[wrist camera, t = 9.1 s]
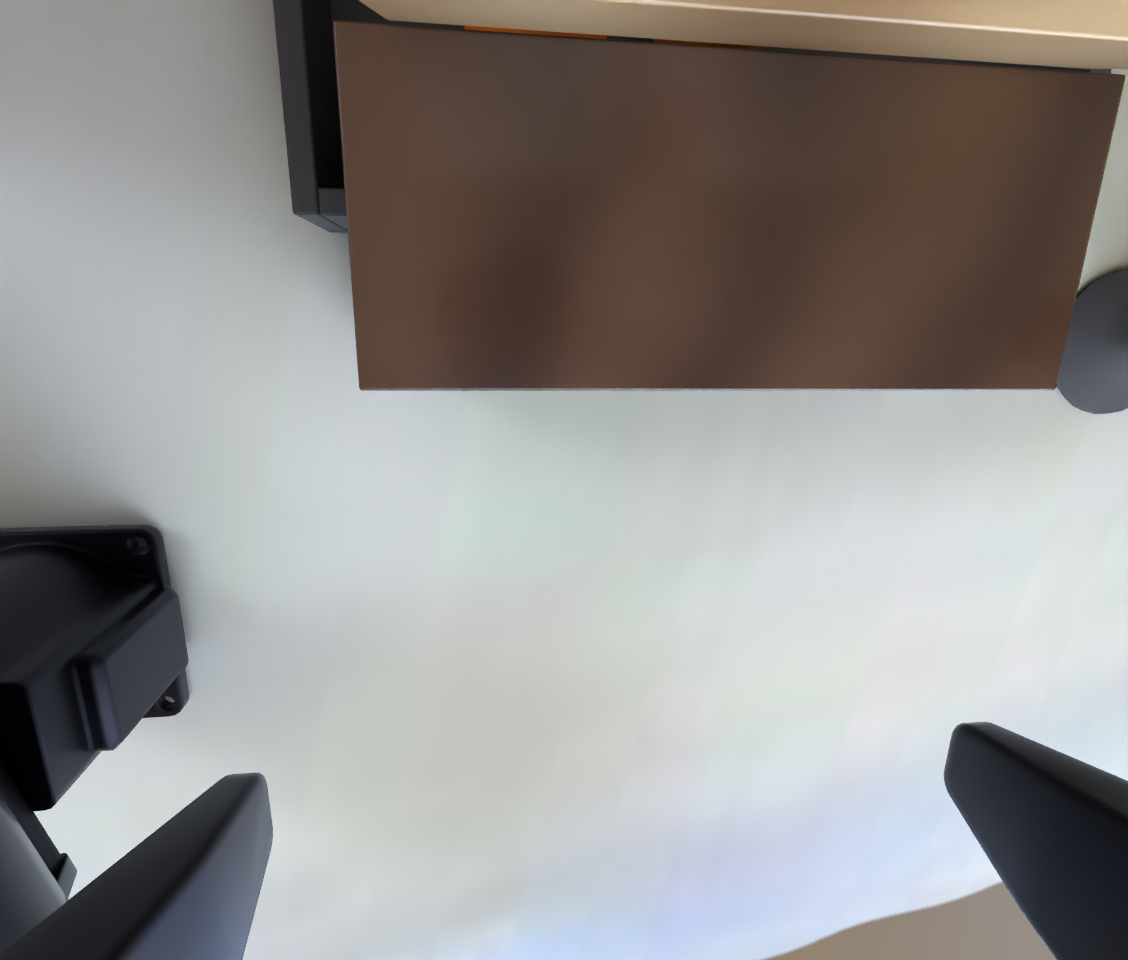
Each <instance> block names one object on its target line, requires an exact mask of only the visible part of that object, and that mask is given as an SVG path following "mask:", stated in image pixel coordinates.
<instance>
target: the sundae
mask: <svg viewBox="0 0 1128 960" xmlns="http://www.w3.org/2000/svg"><path fill="white" fill-rule="evenodd" d="M1057 386H1058V389H1059V390H1060V391H1061V393H1062V394H1063V395H1064V397H1065V398H1066V399H1067V400H1068V401H1069V402H1070V403H1071V404H1072V405H1073V406H1075V407H1077V408H1079V409H1081V410H1083V411H1086V412H1090V413H1094V414H1103V413H1112V412H1118V411H1122V410H1124V409H1126V408H1128V268H1126V269H1120V270H1116V271H1114V272H1112V273H1109V274H1107V275H1105V276H1103V277H1102V278H1100V279H1098V280H1097V281H1095V282H1093V283H1092V284H1091V285H1089V286H1088V287H1087V288H1086V289H1085V290H1084V291H1083V292H1082V293H1081V294H1080V295H1079V296H1078V298H1077V299H1076V300H1075V304H1074V308H1073V312H1072V317H1071V321H1070V326H1069V330H1068V335H1067V339H1066V344H1065V348H1064V353H1063V357H1062V362H1061V366H1060V370H1059V375H1058V379H1057Z"/></svg>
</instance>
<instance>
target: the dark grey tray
mask: <svg viewBox="0 0 1128 960" xmlns="http://www.w3.org/2000/svg"><path fill="white" fill-rule="evenodd" d="M273 5H274V16H275V27H276V37H277V48H278V59H279V69H280V80H281V91H282V101H283V112H284V123H285V133H286V144H287V154H288V165H289V176H290V186H291V197H292V208H293V213H294V214H295V215H297V216H299V217H301V218H303V219H306V220H308V221H310V222H312V223H314V224H316V225H318V226H320V227H322V228H324V229H326V230H327V231H329V232H342V233H348V226H347V212H346V198H345V184H344V171H343V157H342V143H341V129H340V116H339V102H338V88H337V74H336V61H335V47H334V33H333V22H334V21H351V22H365V23H380V24H394V25H409V26H423V27H438V28H452V29H464V27H465V26H464V25H450V24H435V23H421V22H407V21H392V20H387V19H385V18H384V17H382V16H381V15H379V14H378V13H376V12H375V11H373V10H372V9H370V8H369V7H367V6H366V5H364V4H363V3H361V2H360V1H358V0H273ZM607 39H612V40H626V41H641V42H654V40H653V39H651V38H636V37H622V36H608V35H607ZM758 50H772V51H786V52H801V53H815V54H830V55H844V56H859V57H873V58H888V59H902V60H917V61H931V62H946V63H960V64H975V65H989V66H1004V67H1018V68H1033V69H1047V70H1062V71H1076V72H1091V73H1105V74H1111V70H1112V69H1082V68H1067V67H1053V66H1039V65H1024V64H1010V63H995V62H981V61H967V60H952V59H938V58H924V57H909V56H895V55H881V54H866V53H852V52H837V51H823V50H809V49H794V48H780V47H766V46H761V47H760V48H759V49H758Z"/></svg>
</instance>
